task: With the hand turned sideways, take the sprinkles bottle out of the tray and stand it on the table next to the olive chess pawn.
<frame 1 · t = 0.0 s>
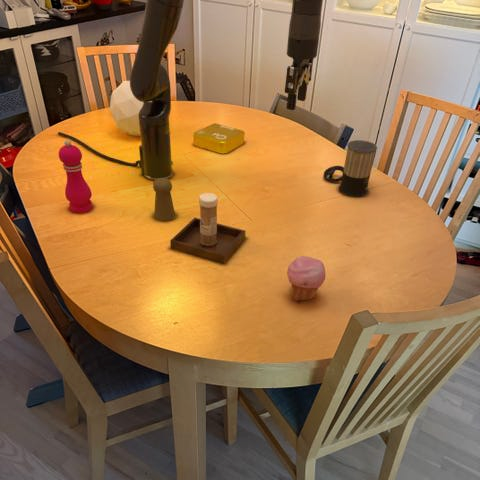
hand: (296, 104, 124), 29 cm above the table, tool pointing down, fingers open, 8 cm apart
sprinkles bottle: (208, 243, 126), resting on tray
ball: (138, 134, 183), on the table
cupcake: (302, 296, 111), on the table
tray: (208, 243, 126), on the table
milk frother: (344, 186, 155), on the table
pepper mill: (81, 208, 138), on the table
olive chess pawn: (164, 216, 136), on the table
element tile: (219, 144, 178), on the table
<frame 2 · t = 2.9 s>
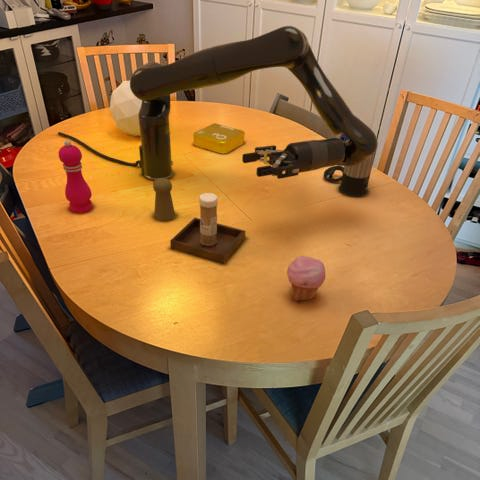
hand: (249, 165, 116), 20 cm above the table, tool horizontal, fingers open, 8 cm apart
nothing on the table moved.
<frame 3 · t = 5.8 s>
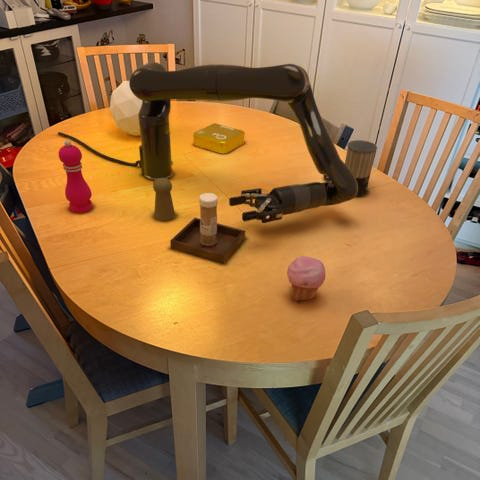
hand: (236, 209, 123), 9 cm above the table, tool horizontal, fingers open, 8 cm apart
nothing on the table moved.
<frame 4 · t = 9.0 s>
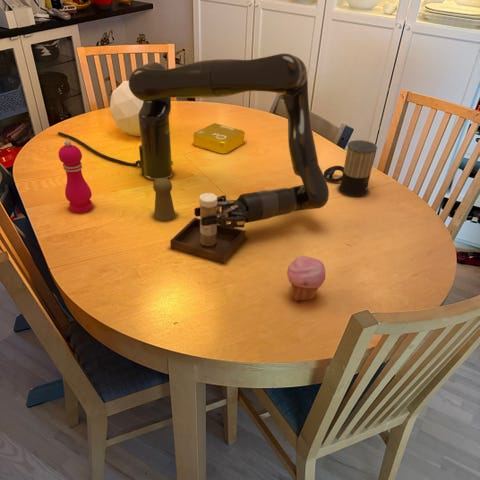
hand: (198, 217, 119), 8 cm above the table, tool horizontal, fingers closed on sprinkles bottle, 4 cm apart
sprinkles bottle: (208, 243, 126), resting on tray, touching gripper
everything else where it was.
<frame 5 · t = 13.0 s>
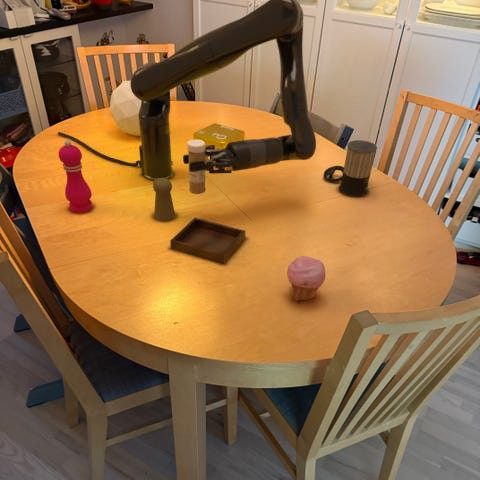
hand: (186, 163, 122), 18 cm above the table, tool horizontal, fingers closed on sprinkles bottle, 4 cm apart
sprinkles bottle: (197, 191, 128), point 9 cm above the table, touching gripper
everything else where it was.
when the fingers open (8 cm above the table, at t = 16.9 s): sprinkles bottle stays where it is, on the table.
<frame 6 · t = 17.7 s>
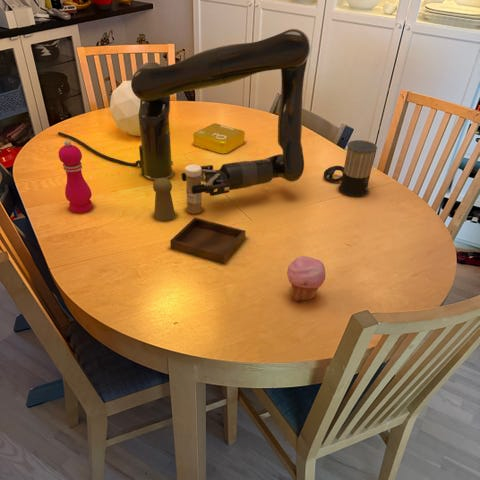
hand: (186, 183, 133), 9 cm above the table, tool horizontal, fingers open, 8 cm apart
sprinkles bottle: (194, 211, 139), on the table
everything else where it was.
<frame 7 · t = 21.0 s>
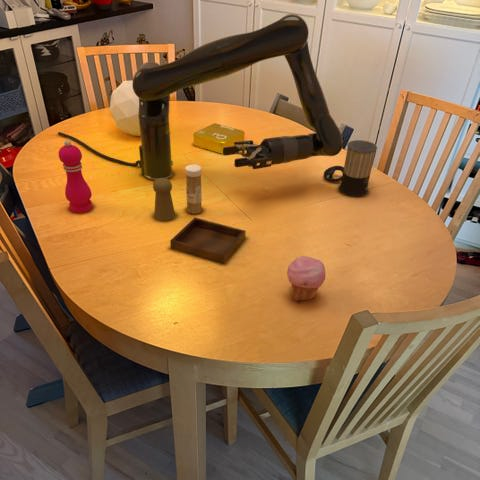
hand: (229, 157, 133), 15 cm above the table, tool horizontal, fingers open, 8 cm apart
nothing on the table moved.
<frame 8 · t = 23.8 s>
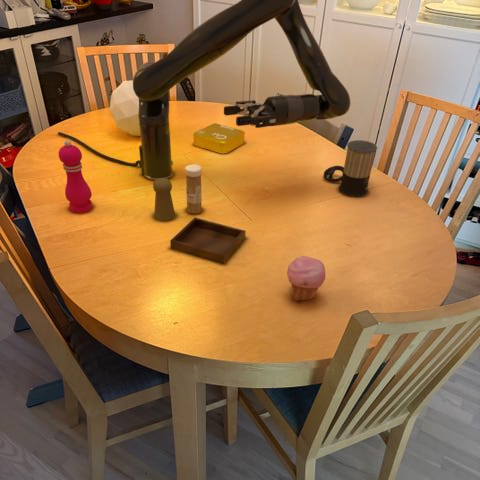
hand: (230, 116, 125), 26 cm above the table, tool horizontal, fingers open, 8 cm apart
nothing on the table moved.
at the end: sprinkles bottle inside the target area (0.1 cm from its centre), on the table; sprinkles bottle 9.2 cm from the olive chess pawn (horizontally); sprinkles bottle tilted 0° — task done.
